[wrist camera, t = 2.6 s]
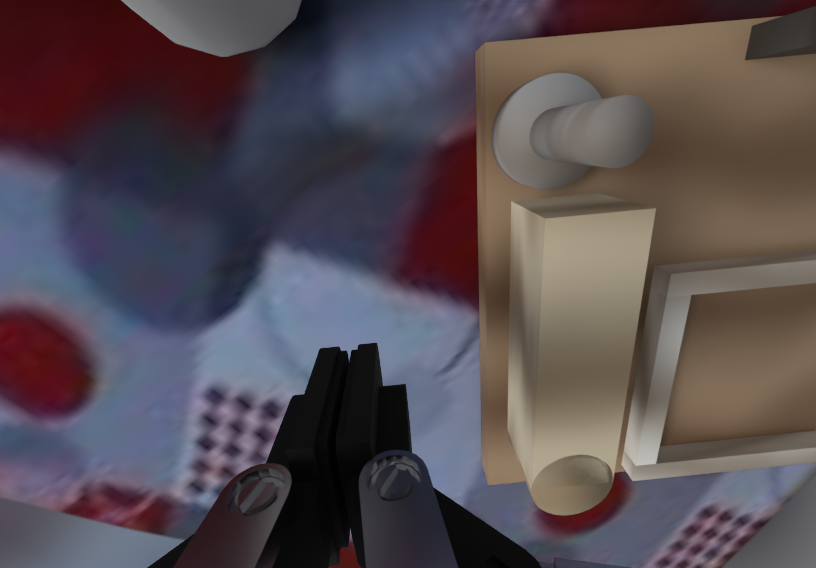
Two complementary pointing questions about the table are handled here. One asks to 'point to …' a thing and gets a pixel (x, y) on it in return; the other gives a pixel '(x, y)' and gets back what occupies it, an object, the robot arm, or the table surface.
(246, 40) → the salt shaker
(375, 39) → the table surface
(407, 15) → the table surface
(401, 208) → the table surface
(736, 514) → the table surface
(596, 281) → the leg
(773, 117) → the wooden activity board
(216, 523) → the robot arm
